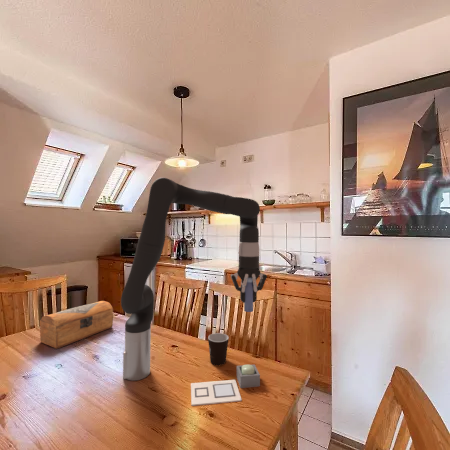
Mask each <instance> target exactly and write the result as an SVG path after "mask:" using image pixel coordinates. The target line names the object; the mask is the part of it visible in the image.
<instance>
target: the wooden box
mask: <svg viewBox="0 0 450 450" xmlns="http://www.w3.org/2000/svg"><path fill="white" fill-rule="evenodd" d="M113 323H114V308H113V306H112V305H111V303H110V302H108V301H105V300H100V301H96V302H93V303H92V302H91V303H88V304H84V305H79V306H75V307H71V308H67V309H64V310H61V311H58V312H54V313H51V314H47V315H43V316H42V317H41V319H40V320H39V327H40V328H39V334H40V335H39V340H40V341H39V342H40V343H42V344H45V345H47V346H50V347H52V348H53V349H56V350H57V349H60V348H63V347H65V346H68V345H71V344H73V343H75V342H76V343H77V342H78V341H81V340H83V339H86V338H88V337H91V336H93V335H95V334H98V333H102V332H104V331H106V330H109V329H111V328H113Z"/></svg>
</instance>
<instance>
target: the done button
mask: <svg viewBox="0 0 450 450" xmlns="http://www.w3.org/2000/svg"><path fill="white" fill-rule="evenodd" d="M242 365H243V366H242V375H250V374H254V367H253V366H252V365H253V364H242Z"/></svg>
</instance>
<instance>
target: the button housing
mask: <svg viewBox="0 0 450 450" xmlns="http://www.w3.org/2000/svg"><path fill="white" fill-rule="evenodd" d="M243 365H244V364H242V365H241V364H240V365H236V379H237V382H238V384H239V388H240V389H245V388H258V387H260V386H261V374H260V373H259V370H258V367H257V366H256V364H251V365H252V366H253V367H254V374H250V375H242V366H243Z"/></svg>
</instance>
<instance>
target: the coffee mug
mask: <svg viewBox="0 0 450 450" xmlns="http://www.w3.org/2000/svg"><path fill="white" fill-rule="evenodd" d="M207 340H208V341H207V343H208V350H209V361H210V362H209V363H210V364H212V365H213V366H216V365H218V367H219V365H220V366H223V365H225V364H226V363H225V362H227V354H228V346H229V335H227V333H221V332H214V333H211V334H209V335H208V338H207Z"/></svg>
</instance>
